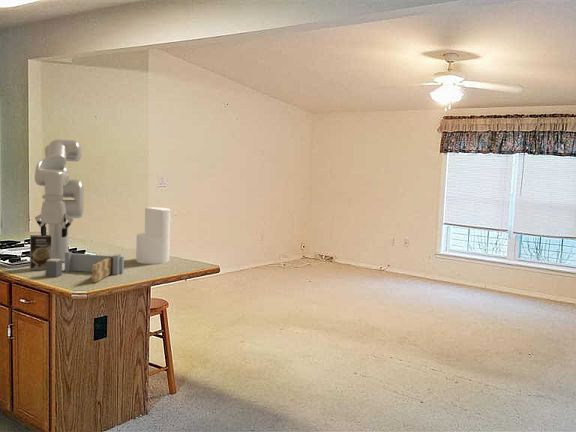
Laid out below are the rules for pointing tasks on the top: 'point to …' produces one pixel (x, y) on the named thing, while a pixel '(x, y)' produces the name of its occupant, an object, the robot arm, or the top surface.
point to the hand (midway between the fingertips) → (54, 236)
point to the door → (102, 269)
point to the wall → (91, 262)
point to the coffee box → (39, 251)
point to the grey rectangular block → (53, 267)
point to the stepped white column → (154, 237)
